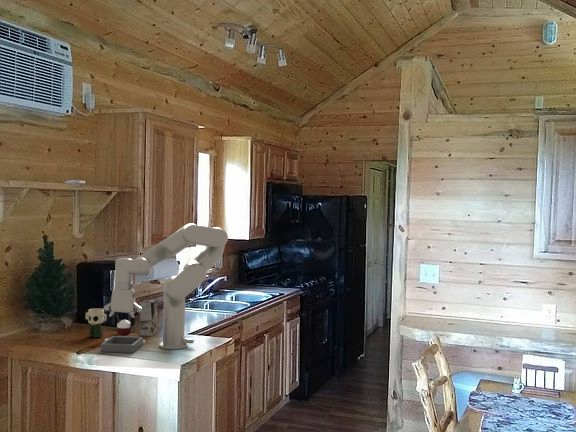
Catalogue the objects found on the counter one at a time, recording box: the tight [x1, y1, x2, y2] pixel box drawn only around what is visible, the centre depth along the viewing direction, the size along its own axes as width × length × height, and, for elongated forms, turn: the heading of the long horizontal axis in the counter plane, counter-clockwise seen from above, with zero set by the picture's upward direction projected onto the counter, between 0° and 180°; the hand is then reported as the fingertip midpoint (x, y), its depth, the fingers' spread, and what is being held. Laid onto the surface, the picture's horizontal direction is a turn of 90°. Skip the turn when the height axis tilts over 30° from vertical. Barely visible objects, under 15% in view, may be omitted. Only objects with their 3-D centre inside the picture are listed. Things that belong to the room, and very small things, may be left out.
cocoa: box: [114, 312, 136, 337], centre depth 270 cm, size 10×6×12 cm, turn 70°
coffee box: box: [139, 299, 158, 337], centre depth 300 cm, size 9×6×16 cm
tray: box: [100, 335, 144, 354], centre depth 271 cm, size 14×15×4 cm
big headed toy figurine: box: [85, 308, 108, 338], centre depth 290 cm, size 11×7×13 cm, turn 76°
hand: (122, 325), depth 270 cm, fingers closed on cocoa, 8 cm apart
